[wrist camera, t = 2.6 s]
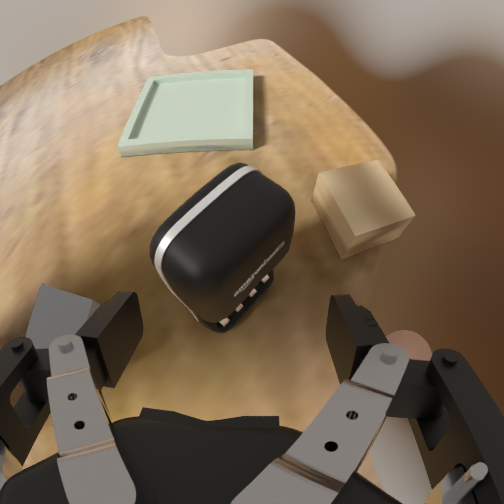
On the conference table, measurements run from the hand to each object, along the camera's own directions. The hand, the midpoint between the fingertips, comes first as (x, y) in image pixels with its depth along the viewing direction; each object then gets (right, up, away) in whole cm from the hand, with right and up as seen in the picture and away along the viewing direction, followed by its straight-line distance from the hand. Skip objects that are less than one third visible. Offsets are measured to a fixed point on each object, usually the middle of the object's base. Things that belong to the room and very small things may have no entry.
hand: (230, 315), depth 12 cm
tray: (-6, +19, +20) cm, 28 cm away
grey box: (-12, -5, +9) cm, 16 cm away
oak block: (+10, +5, +14) cm, 18 cm away
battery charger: (0, -1, +11) cm, 11 cm away
